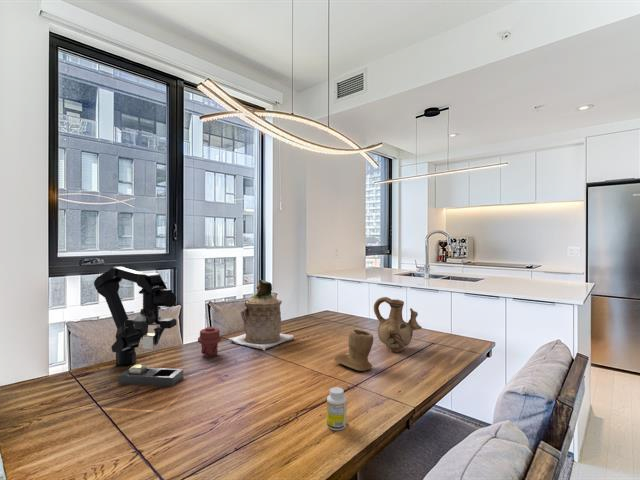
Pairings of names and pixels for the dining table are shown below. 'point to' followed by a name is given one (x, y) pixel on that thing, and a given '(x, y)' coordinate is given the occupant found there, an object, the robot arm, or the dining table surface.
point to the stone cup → (357, 351)
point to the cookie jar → (262, 320)
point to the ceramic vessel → (395, 325)
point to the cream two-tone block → (149, 341)
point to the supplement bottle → (336, 409)
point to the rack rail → (152, 377)
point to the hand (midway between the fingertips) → (150, 344)
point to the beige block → (138, 369)
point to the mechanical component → (209, 341)
